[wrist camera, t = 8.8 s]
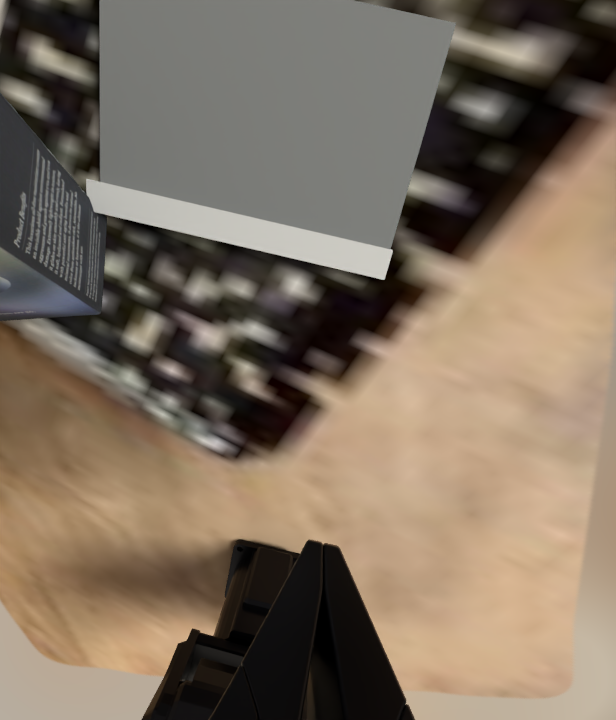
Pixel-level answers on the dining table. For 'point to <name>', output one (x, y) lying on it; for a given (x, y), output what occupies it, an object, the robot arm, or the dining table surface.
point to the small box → (45, 231)
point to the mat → (266, 121)
